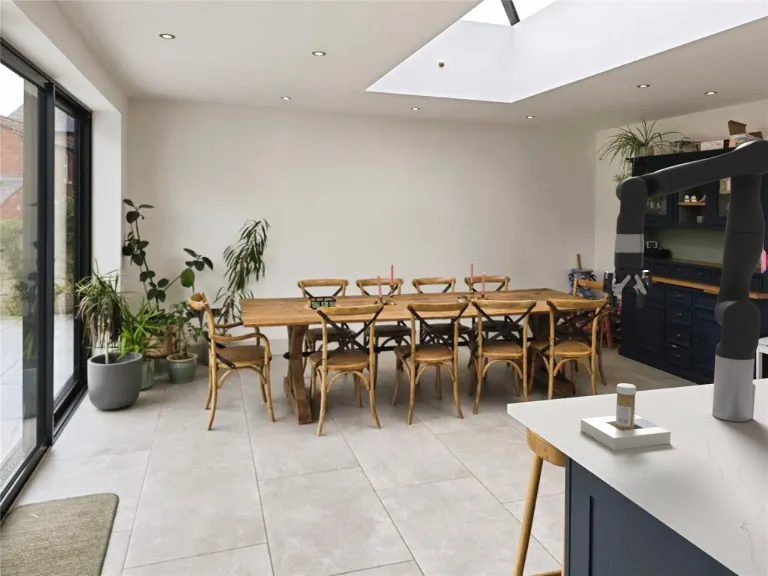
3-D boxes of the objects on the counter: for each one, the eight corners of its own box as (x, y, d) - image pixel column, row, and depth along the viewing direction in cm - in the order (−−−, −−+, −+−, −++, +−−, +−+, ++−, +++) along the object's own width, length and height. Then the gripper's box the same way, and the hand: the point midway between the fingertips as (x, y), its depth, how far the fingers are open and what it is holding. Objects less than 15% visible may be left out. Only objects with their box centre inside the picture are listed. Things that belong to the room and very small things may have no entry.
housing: (633, 424, 160) (633, 413, 160) (670, 443, 147) (670, 431, 146) (580, 430, 156) (580, 419, 156) (613, 450, 143) (614, 438, 142)
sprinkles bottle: (637, 437, 151) (640, 385, 149) (626, 441, 148) (629, 388, 147) (621, 431, 155) (623, 381, 153) (610, 435, 152) (612, 384, 150)
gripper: (642, 249, 171) (639, 305, 172) (598, 250, 167) (596, 307, 169) (660, 250, 163) (657, 308, 165) (615, 251, 160) (612, 311, 162)
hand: (626, 308), depth 167 cm, fingers open, 8 cm apart
